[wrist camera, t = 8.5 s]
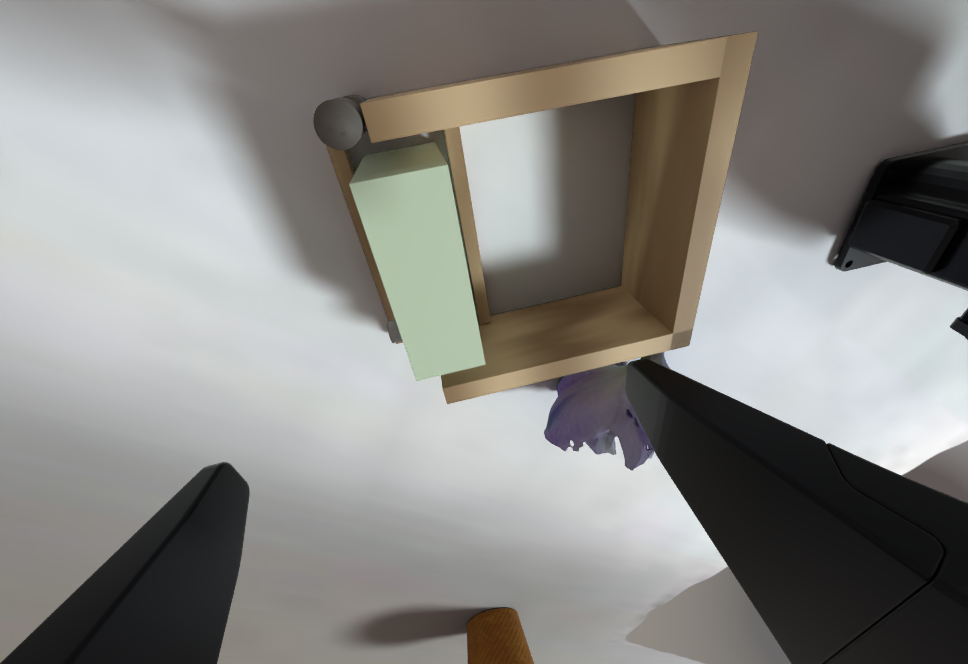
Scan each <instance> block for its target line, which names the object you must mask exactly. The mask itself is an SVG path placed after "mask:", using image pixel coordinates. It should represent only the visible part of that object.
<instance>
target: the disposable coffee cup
mask: <svg viewBox="0 0 968 664" xmlns="http://www.w3.org/2000/svg"><path fill="white" fill-rule="evenodd" d="M467 648H468V664H534V662H533V659H532V656H531V653H530V650H529V647H528V644H527V641H526V638H525V635H524V632H523V629H522V626H521V623H520V620H519V617H518V613H517V611H515V610H513V609H509V608H498V609H493V610H488V611H486V612H483V613H481V614H478V615H476V616H475V617H473V618H472V619H471V620H470V621H469V622H468V624H467Z"/></svg>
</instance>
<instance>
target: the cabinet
mask: <svg viewBox="0 0 968 664" xmlns="http://www.w3.org/2000/svg"><path fill="white" fill-rule="evenodd" d="M757 35H758V31H756V32H749V33H742V34H736V35H729V36H722V37H715V38H709V39H702V40H695V41H688V42H682V43H675V44H668V45H662V46H656V47H651V48H645V49H640V50H634V51H628V52H623V53H617V54H612V55H606V56H601V57H595V58H590V59H584V60H579V61H573V62H568V63H562V64H557V65H551V66H546V67H540V68H535V69H529V70H524V71H518V72H513V73H507V74H502V75H496V76H490V77H485V78H479V79H474V80H468V81H463V82H457V83H452V84H446V85H441V86H435V87H430V88H424V89H419V90H413V91H408V92H402V93H397V94H391V95H386V96H380V97H375V98H371V99H368V100H365V99H364V98H363V97H361V96H358V95H351V96H346V97H343V98H337V99H333V100H329V101H325V102H323V103H322V104H320V105H319V106H318V108H317V109H316V111H315V114H314V127H315V130H316V133H317V135H318V137H319V138H320V139H321V140H322V142H323V143H325V144H326V147H327V149H328V152H329V155H330V158H331V161H332V163H333V166H334V169H335V172H336V175H337V178H338V180H339V183H340V186H341V189H342V192H343V194H344V197H345V200H346V203H347V206H348V208H349V211H350V214H351V217H352V220H353V223H354V225H355V228H356V231H357V234H358V237H359V239H360V242H361V245H362V248H363V251H364V254H365V256H366V259H367V262H368V265H369V268H370V270H371V273H372V276H373V279H374V282H375V284H376V287H377V290H378V293H379V296H380V299H381V301H382V304H383V307H384V310H385V313H386V315H387V318H388V321H393V320H395V317H394V314H393V311H392V308H391V305H390V302H389V300H388V297H387V294H386V291H385V288H384V285H383V282H382V279H381V276H380V273H379V270H378V267H377V264H376V261H375V259H374V256H373V253H372V250H371V247H370V244H369V241H368V238H367V235H366V232H365V229H364V226H363V223H362V221H361V218H360V215H359V212H358V209H357V206H356V203H355V200H354V197H353V194H352V191H351V188H350V185H349V183H350V181H351V180H352V178H353V176H354V174H355V171H354V168H353V165H352V162H351V159H350V156H349V153H348V149H350V148H352V147H354V146H355V145H356V143H357V142H358V141H359V140H360V138H361V137H362V135H363V134H364V132H365V131H366V130H367V129H368V133H369V136H370V140H371V143H375V142H380V141H386V140H391V139H396V138H401V137H407V136H412V135H417V134H422V133H428V132H433V131H438V130H443V133H444V139H445V144H446V149H447V155H448V160H449V165H450V171H451V176H452V182H453V187H454V192H455V198H456V203H457V208H458V214H459V219H460V225H461V230H462V235H463V241H464V246H465V251H466V257H467V262H468V268H469V273H470V278H471V284H472V289H473V294H474V300H475V305H476V310H477V316H478V319H477V321H478V327H479V332H480V337H481V343H482V348H483V353H484V359H485V364H486V365H482V366H478V367H474V368H469V369H465V370H461V371H457V372H452V373H448V374H444V375H441V380H442V387H443V391H444V395H445V398H446V402H447V404H450V403H454V402H458V401H463V400H467V399H471V398H475V397H479V396H483V395H487V394H491V393H496V392H500V391H504V390H508V389H512V388H516V387H520V386H524V385H529V384H533V383H537V382H541V381H545V380H549V379H553V378H557V377H562V376H566V375H570V374H574V373H578V372H582V371H586V370H590V369H595V368H599V367H603V366H607V365H611V364H615V363H619V362H623V361H628V360H632V359H636V358H640V357H644V356H648V355H652V354H656V353H661V352H665V351H669V350H673V349H677V348H681V347H685V346H689V344H690V340H691V335H692V331H693V326H694V321H695V317H696V312H697V308H698V303H699V299H700V294H701V290H702V285H703V280H704V276H705V271H706V267H707V262H708V258H709V253H710V249H711V244H712V239H713V235H714V230H715V226H716V221H717V217H718V212H719V208H720V203H721V199H722V194H723V189H724V185H725V180H726V176H727V171H728V167H729V162H730V158H731V153H732V148H733V144H734V139H735V135H736V130H737V126H738V121H739V117H740V112H741V107H742V103H743V98H744V94H745V89H746V85H747V80H748V76H749V71H750V67H751V62H752V57H753V53H754V48H755V44H756V39H757ZM633 93H636V96H635V110H634V123H633V136H632V149H631V162H630V175H629V188H628V201H627V214H626V227H625V240H624V253H623V266H622V280H621V286H619V287H615V288H610V289H606V290H601V291H597V292H593V293H588V294H584V295H579V296H575V297H571V298H566V299H562V300H557V301H553V302H549V303H544V304H540V305H535V306H531V307H527V308H522V309H518V310H513V311H509V312H505V313H500V314H496V315H491V316H490V313H489V307H488V301H487V295H486V289H485V283H484V276H483V270H482V264H481V258H480V252H479V246H478V240H477V234H476V227H475V221H474V215H473V209H472V203H471V197H470V191H469V185H468V178H467V172H466V166H465V160H464V154H463V148H462V142H461V135H460V129H459V126H465V125H470V124H475V123H480V122H486V121H491V120H496V119H502V118H507V117H512V116H517V115H523V114H528V113H533V112H538V111H544V110H549V109H554V108H560V107H565V106H570V105H575V104H581V103H586V102H591V101H596V100H602V99H607V98H612V97H618V96H623V95H628V94H633ZM402 342H403V341H400V342H396V344H398V343H402Z"/></svg>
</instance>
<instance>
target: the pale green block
mask: <svg viewBox="0 0 968 664" xmlns="http://www.w3.org/2000/svg"><path fill="white" fill-rule="evenodd" d="M349 185H350V188H351V191H352V194H353V197H354V200H355V203H356V206H357V209H358V212H359V215H360V218H361V221H362V223H363V226H364V229H365V232H366V235H367V238H368V241H369V244H370V247H371V250H372V253H373V256H374V259H375V261H376V264H377V267H378V270H379V273H380V276H381V279H382V282H383V285H384V288H385V291H386V294H387V297H388V300H389V302H390V305H391V308H392V311H393V314H394V317H395V320H393V321H388V322H387V327H388V332H389V336H390V339H391V341H392V343H396V342H400V341H403V343H404V346H405V349H406V352H407V355H408V358H409V361H410V364H411V367H412V370H413V373H414V376H415V378H416V381H419V380H423V379H427V378H431V377H436V376H440V375H444V374H448V373H452V372H457V371H461V370H465V369H469V368H474V367H478V366H482V365H486V364H485V359H484V353H483V348H482V343H481V337H480V332H479V327H478V321H477V316H476V311H475V306H474V300H473V295H472V290H471V284H470V279H469V274H468V269H467V263H466V258H465V253H464V247H463V242H462V237H461V231H460V226H459V221H458V216H457V210H456V205H455V200H454V194H453V189H452V184H451V178H450V173H449V168H448V164H447V162H446V161H445V159H444V157H443V155H442V154H441V152H440V150H439V149H438V147H437V145H436V143H435V142H432V143H427V144H421V145H416V146H411V147H406V148H401V149H395V150H390V151H385V152H380V153H375V154H369V155H364V156H363V158H362V160H361V162H360V164H359V166H358V168H357V170H356V172H355V174H354V176H353V178H352V180H351V181H350V183H349Z"/></svg>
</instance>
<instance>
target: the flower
mask: <svg viewBox="0 0 968 664" xmlns="http://www.w3.org/2000/svg"><path fill="white" fill-rule="evenodd" d="M641 359H649V360H652V361H654V362H656V363H658V364H660V365H662V366H665V367H667V368H669V366H668V365H667V363H666V360H665V358H664V352H661V353H656V354H652V355H648V356H644V357H641ZM669 369H670V368H669ZM626 373H627V365H625V366H617V365H614V364H611V365H607V366H603V367H599V368H595V369H590V370H586V371H582V372H578V373H574V374H570V375H566V376H564V377H563V378H562V379H561V380H560V382H559V383H558V385H557V392H558V398H557V399H556V401H555V402H554V404H553V406H552V407H551V410H550V413H549V417H548V423H547V427H546V429H545V431H544V434H545V438H546V439H547V440H548V441H549V442H550V443H552V444H554V445H556V446H558V447H560V448H561V449H562V450H564V451H566V450H567V448H568V447H572V446H571V445H570V440H572V441H573V442H574V446H573V447H572V448H573V451H579V448H580V447H582V446H583V442H586V444H587V445H588V446H589V447H590V448H591V449H592V450H593V451H594V452H595V453H596V454H602V453H610V454H613V455H614V454H616V450H615V441H614V438H615V437H616V436H617V437H618V438H619V441H620V444H621V447H622V450H623V454H624V458H625V466H626V467H627V468H629V469H630V470H633V469H634V468H636V467H638V466H639V465H642V464H643V463H644V462H645V461H646V460H647V459H648V458H652V456H653V453H654V449H653V447H652V446H651V444H650V442H649V440H648V438H647V436H646V434H645V432H644V430H643V428H642V426H641V424H640V422H639V420H638V418H637V416H636V414H635V412H634V410H633V408H632V406H631V404H630V402H629V400H628V398H627V395H626V392H625V382H626ZM647 445H648V448H649V449H647Z"/></svg>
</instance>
